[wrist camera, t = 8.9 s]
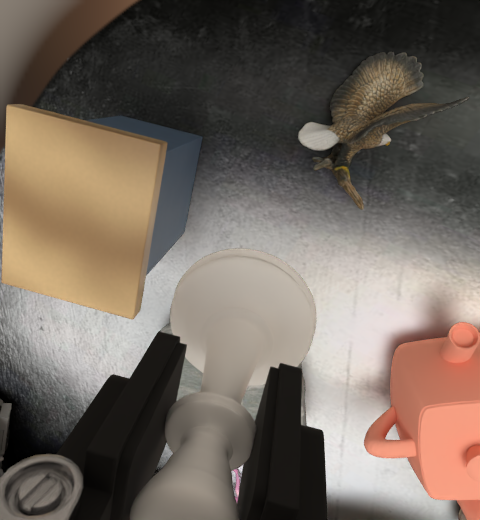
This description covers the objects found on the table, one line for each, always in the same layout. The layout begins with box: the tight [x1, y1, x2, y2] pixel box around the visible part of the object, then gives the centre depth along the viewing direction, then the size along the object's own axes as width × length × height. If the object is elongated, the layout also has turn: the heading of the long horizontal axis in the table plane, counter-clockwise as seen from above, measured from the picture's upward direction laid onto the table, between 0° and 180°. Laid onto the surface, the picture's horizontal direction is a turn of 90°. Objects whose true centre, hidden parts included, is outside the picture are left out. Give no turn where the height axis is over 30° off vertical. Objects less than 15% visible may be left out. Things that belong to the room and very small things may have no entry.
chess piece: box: [130, 248, 316, 520], centre depth 11 cm, size 5×5×10 cm
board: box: [2, 104, 168, 319], centre depth 24 cm, size 10×8×1 cm
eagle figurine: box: [298, 52, 469, 210], centre depth 30 cm, size 8×7×9 cm
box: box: [85, 116, 203, 275], centre depth 30 cm, size 8×7×12 cm
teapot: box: [364, 322, 480, 520], centre depth 34 cm, size 14×12×10 cm
